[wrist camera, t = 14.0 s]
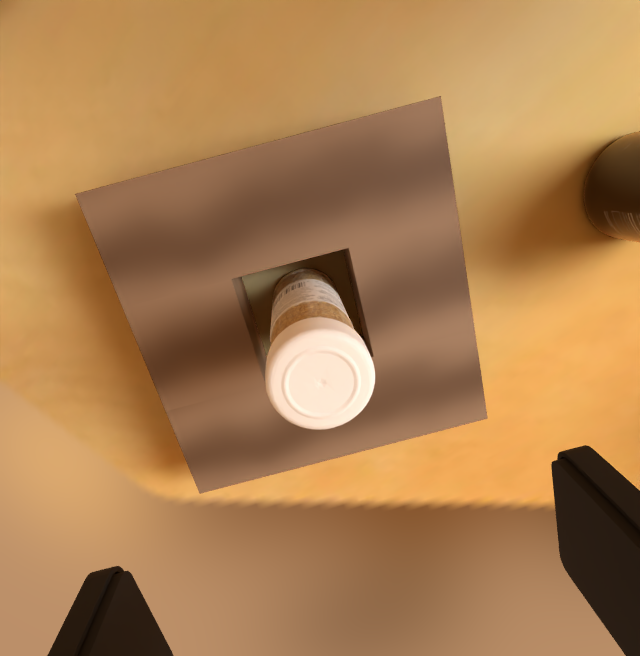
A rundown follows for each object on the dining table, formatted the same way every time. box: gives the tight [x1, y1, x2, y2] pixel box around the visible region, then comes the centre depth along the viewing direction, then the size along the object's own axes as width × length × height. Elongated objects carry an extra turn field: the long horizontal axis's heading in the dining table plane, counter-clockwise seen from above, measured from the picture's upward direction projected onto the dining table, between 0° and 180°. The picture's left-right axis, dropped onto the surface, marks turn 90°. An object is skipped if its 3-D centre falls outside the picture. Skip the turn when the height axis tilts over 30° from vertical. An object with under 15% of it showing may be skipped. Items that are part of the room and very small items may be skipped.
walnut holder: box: [75, 96, 487, 493], centre depth 29 cm, size 20×20×4 cm
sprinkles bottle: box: [265, 268, 375, 430], centre depth 25 cm, size 5×5×13 cm
